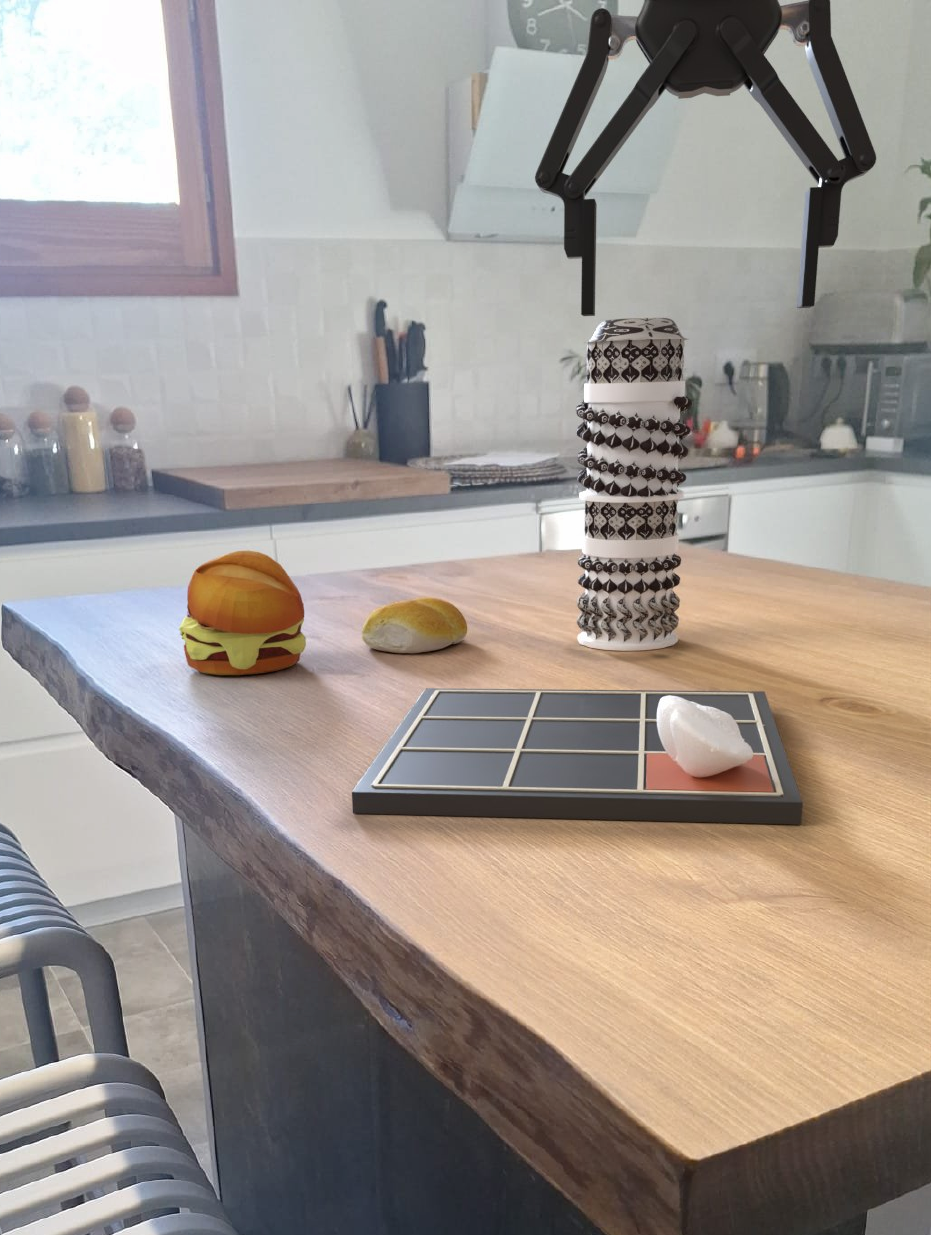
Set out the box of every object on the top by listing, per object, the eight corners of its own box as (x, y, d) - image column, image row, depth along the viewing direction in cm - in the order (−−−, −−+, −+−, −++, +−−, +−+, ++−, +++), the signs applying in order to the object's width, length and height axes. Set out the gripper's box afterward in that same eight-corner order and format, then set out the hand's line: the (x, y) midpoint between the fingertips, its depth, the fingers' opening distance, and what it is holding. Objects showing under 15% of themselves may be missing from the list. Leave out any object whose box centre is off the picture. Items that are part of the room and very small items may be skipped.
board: (763, 708, 83) (764, 689, 82) (800, 825, 62) (803, 800, 61) (426, 704, 86) (425, 686, 86) (352, 813, 65) (351, 790, 65)
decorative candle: (631, 625, 111) (640, 322, 101) (705, 641, 103) (721, 316, 94) (551, 639, 106) (552, 322, 97) (622, 656, 99) (631, 316, 90)
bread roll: (480, 637, 108) (479, 591, 106) (431, 658, 101) (430, 608, 99) (398, 630, 112) (397, 586, 110) (346, 650, 104) (343, 602, 103)
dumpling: (636, 762, 69) (648, 691, 68) (726, 775, 69) (739, 705, 69) (667, 777, 62) (681, 698, 61) (766, 791, 63) (782, 713, 62)
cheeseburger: (283, 644, 106) (285, 532, 101) (327, 699, 99) (332, 580, 93) (167, 656, 102) (163, 539, 97) (203, 714, 95) (201, 591, 89)
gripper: (927, -91, 72) (889, 306, 80) (503, -55, 76) (507, 320, 84) (956, -140, 65) (911, 300, 73) (488, -97, 69) (493, 316, 77)
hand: (695, 312), depth 79 cm, fingers open, 13 cm apart
